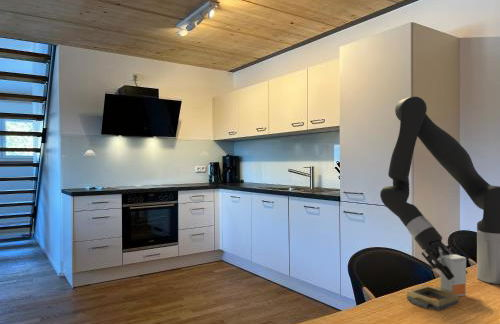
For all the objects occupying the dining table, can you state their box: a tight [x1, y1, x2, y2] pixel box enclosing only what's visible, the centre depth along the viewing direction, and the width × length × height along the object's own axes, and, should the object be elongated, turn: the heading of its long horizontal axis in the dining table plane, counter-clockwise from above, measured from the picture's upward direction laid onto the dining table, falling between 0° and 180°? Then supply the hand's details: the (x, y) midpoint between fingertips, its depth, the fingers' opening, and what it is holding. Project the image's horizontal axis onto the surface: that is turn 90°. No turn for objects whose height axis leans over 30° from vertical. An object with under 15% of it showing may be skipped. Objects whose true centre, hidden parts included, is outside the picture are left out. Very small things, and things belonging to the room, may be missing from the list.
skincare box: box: [440, 254, 467, 297], centre depth 114 cm, size 6×4×12 cm
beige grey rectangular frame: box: [406, 285, 460, 312], centre depth 109 cm, size 13×10×2 cm
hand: (458, 276), depth 113 cm, fingers closed on skincare box, 6 cm apart
